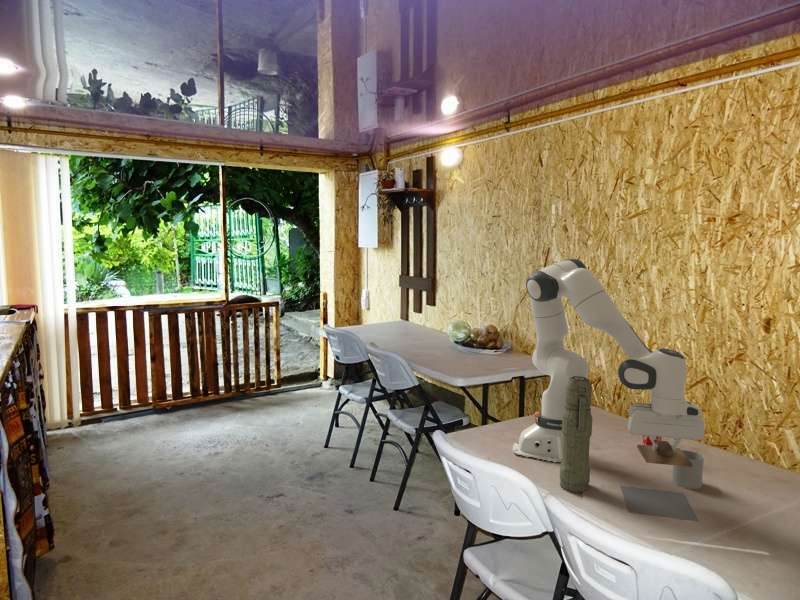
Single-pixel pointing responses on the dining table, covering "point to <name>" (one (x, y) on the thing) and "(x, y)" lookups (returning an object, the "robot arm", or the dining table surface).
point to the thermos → (576, 436)
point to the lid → (664, 455)
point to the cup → (689, 472)
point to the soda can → (647, 440)
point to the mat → (658, 503)
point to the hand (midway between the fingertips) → (663, 451)
